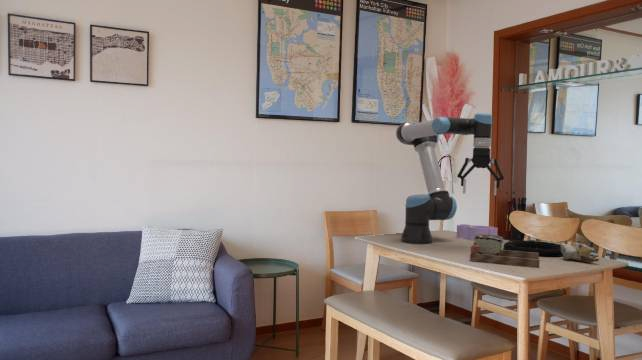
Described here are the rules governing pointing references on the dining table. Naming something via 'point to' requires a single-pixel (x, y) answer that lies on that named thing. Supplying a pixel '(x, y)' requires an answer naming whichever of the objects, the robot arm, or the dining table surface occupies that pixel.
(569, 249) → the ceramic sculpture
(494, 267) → the dining table surface
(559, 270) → the dining table surface
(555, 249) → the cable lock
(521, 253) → the brown wooden tray
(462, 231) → the purple block
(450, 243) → the dining table surface
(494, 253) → the food container
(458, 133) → the robot arm
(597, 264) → the dining table surface
